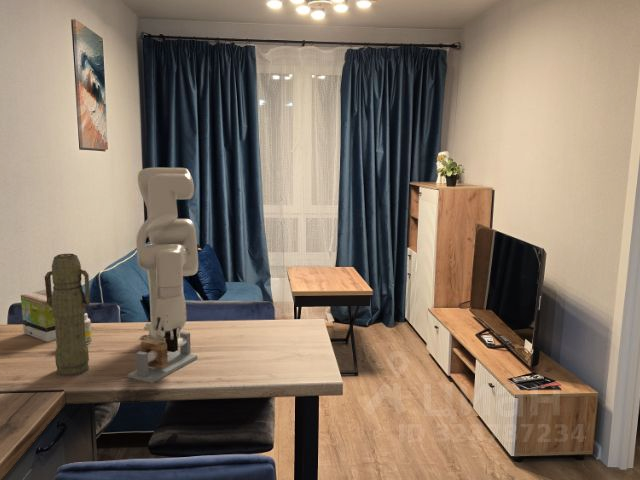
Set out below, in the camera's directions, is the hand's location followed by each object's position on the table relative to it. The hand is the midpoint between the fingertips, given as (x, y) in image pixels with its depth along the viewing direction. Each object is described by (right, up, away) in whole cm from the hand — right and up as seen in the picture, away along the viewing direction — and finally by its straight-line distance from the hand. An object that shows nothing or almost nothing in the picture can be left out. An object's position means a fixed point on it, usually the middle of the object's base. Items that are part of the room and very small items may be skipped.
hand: (171, 350), depth 157 cm
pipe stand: (-3, -6, +3) cm, 7 cm away
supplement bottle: (-37, -2, +23) cm, 43 cm away
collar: (-5, -4, -1) cm, 6 cm away
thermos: (-30, -6, 0) cm, 30 cm away
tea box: (-53, -1, +31) cm, 61 cm away
